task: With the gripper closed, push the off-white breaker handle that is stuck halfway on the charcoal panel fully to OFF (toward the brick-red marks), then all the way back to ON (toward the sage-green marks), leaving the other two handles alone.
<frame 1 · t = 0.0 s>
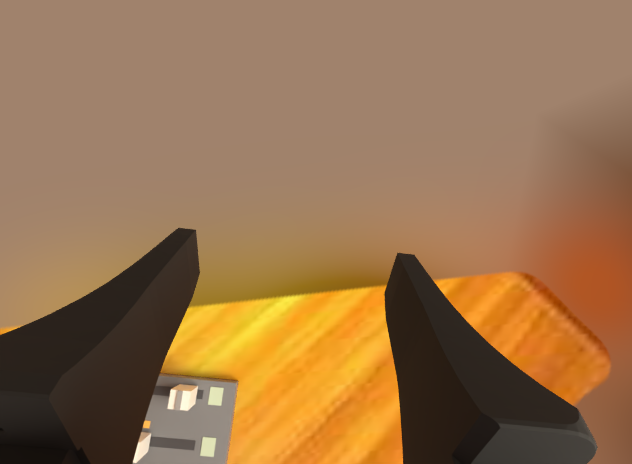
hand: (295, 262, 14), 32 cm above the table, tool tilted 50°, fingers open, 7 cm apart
handle 1: (183, 397, 39), point 3 cm above the table, slide at -4.0 cm
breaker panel: (137, 435, 41), on the table
handle tripped: (133, 446, 38), point 3 cm above the table, slide at 0.0 cm
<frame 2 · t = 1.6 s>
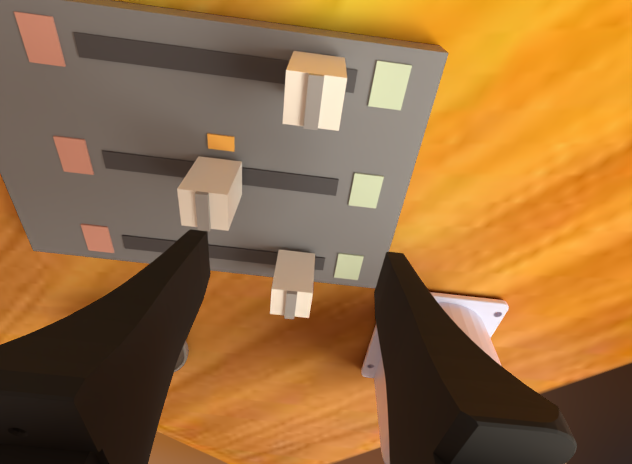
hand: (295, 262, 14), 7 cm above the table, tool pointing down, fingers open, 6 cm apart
handle 2: (293, 283, 20), point 3 cm above the table, slide at -4.0 cm
handle 1: (315, 89, 14), point 3 cm above the table, slide at -4.0 cm
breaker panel: (209, 157, 19), on the table
handle tripped: (212, 193, 17), point 3 cm above the table, slide at 0.0 cm
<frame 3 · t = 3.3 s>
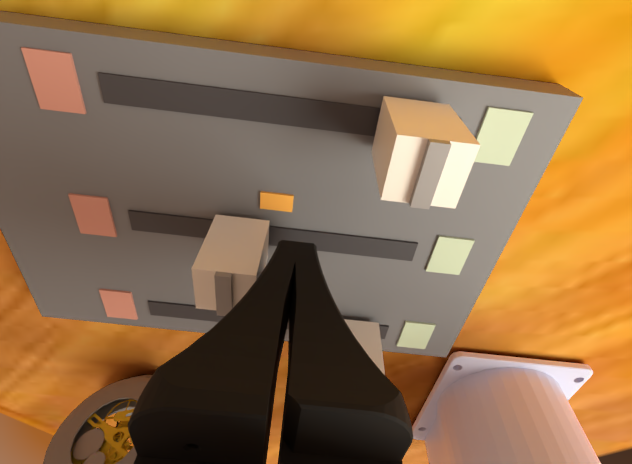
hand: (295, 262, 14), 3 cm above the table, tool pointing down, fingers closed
handle 2: (355, 362, 16), point 3 cm above the table, slide at -4.0 cm
pocket watch: (165, 384, 25), on the table
handle 1: (417, 150, 11), point 3 cm above the table, slide at -4.0 cm
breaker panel: (255, 211, 16), on the table
handle tripped: (234, 264, 13), point 3 cm above the table, slide at 1.2 cm, touching gripper
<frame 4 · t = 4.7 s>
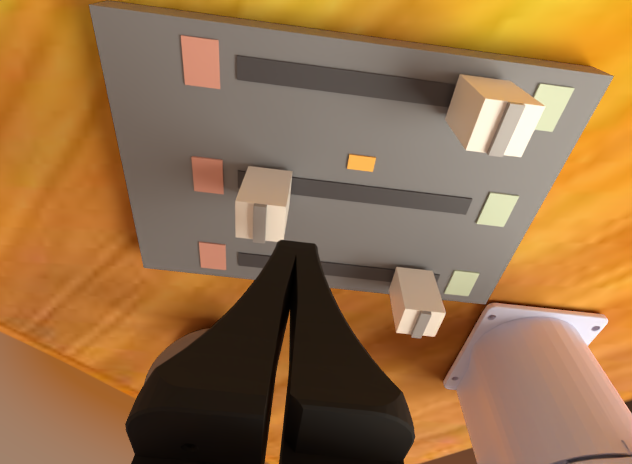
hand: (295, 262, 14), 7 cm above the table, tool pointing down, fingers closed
handle 2: (415, 302, 20), point 3 cm above the table, slide at -4.0 cm
pocket watch: (229, 339, 28), on the table
handle 1: (490, 114, 14), point 3 cm above the table, slide at -4.0 cm
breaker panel: (334, 175, 19), on the table
handle tripped: (264, 204, 16), point 3 cm above the table, slide at 4.1 cm
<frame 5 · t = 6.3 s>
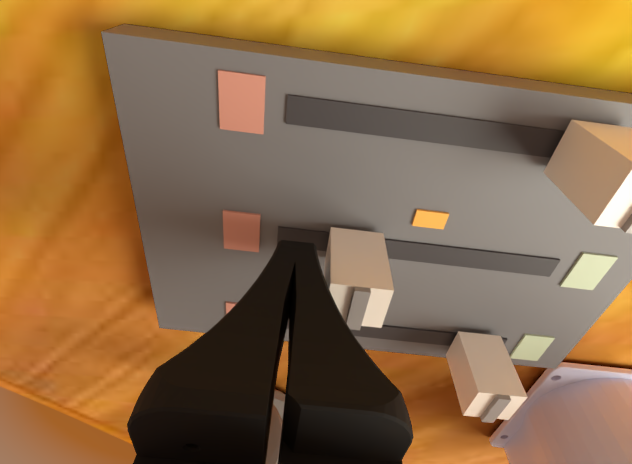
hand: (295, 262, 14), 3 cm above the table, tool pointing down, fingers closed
handle 2: (483, 375, 17), point 3 cm above the table, slide at -4.0 cm
pocket watch: (251, 393, 25), on the table
handle 1: (617, 174, 11), point 3 cm above the table, slide at -4.0 cm
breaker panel: (388, 226, 16), on the table
handle tripped: (355, 277, 13), point 3 cm above the table, slide at 2.6 cm, touching gripper
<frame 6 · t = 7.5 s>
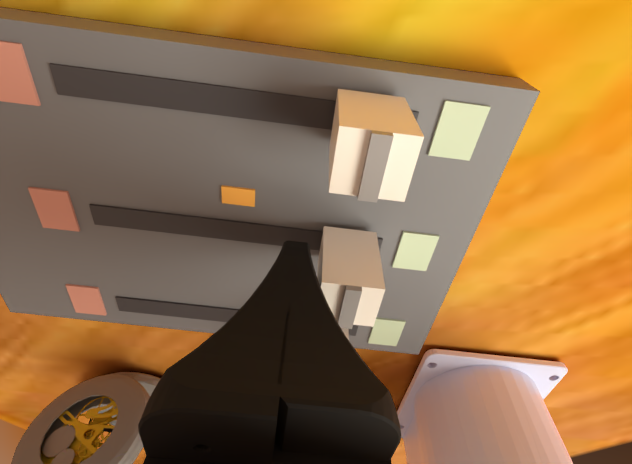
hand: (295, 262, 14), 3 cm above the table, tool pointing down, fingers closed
handle 2: (322, 359, 16), point 3 cm above the table, slide at -4.0 cm
pocket watch: (142, 382, 25), on the table
handle 1: (369, 143, 10), point 3 cm above the table, slide at -4.0 cm
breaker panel: (222, 206, 16), on the table
handle tripped: (347, 275, 13), point 3 cm above the table, slide at -4.2 cm, touching gripper
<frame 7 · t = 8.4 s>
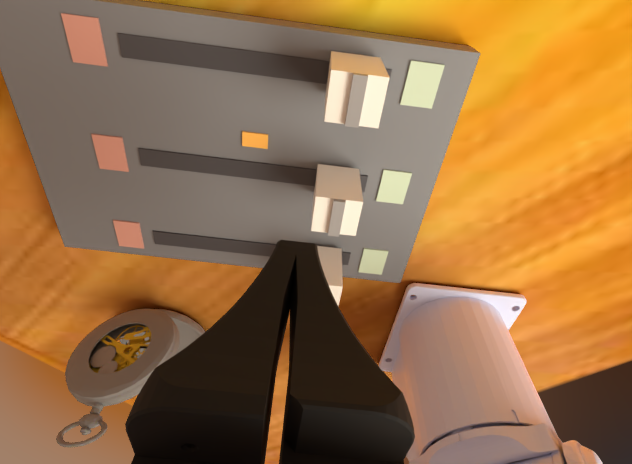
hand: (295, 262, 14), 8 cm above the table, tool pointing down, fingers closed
handle 2: (321, 278, 20), point 3 cm above the table, slide at -4.0 cm
pocket watch: (166, 321, 29), on the table
handle 1: (353, 88, 14), point 3 cm above the table, slide at -4.0 cm
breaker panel: (240, 154, 20), on the table
handle tripped: (336, 199, 17), point 3 cm above the table, slide at -4.1 cm
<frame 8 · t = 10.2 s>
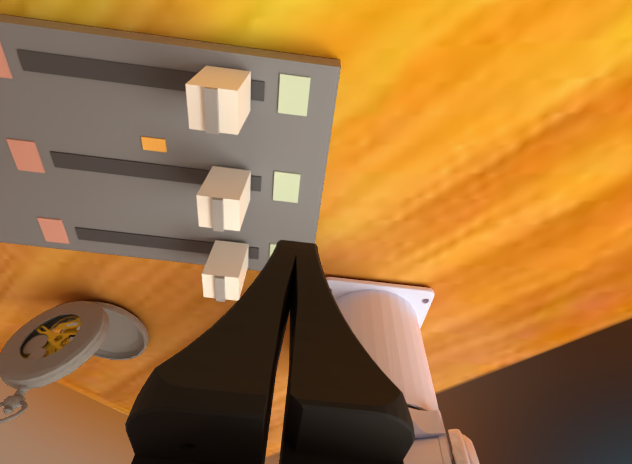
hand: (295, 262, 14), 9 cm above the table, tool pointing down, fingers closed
handle 2: (226, 270, 22), point 3 cm above the table, slide at -4.0 cm
pocket watch: (106, 313, 30), on the table
handle 1: (220, 99, 16), point 3 cm above the table, slide at -4.0 cm
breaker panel: (150, 157, 22), on the table
handle tripped: (225, 198, 19), point 3 cm above the table, slide at -4.1 cm
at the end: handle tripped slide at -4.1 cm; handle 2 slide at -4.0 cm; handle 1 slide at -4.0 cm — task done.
